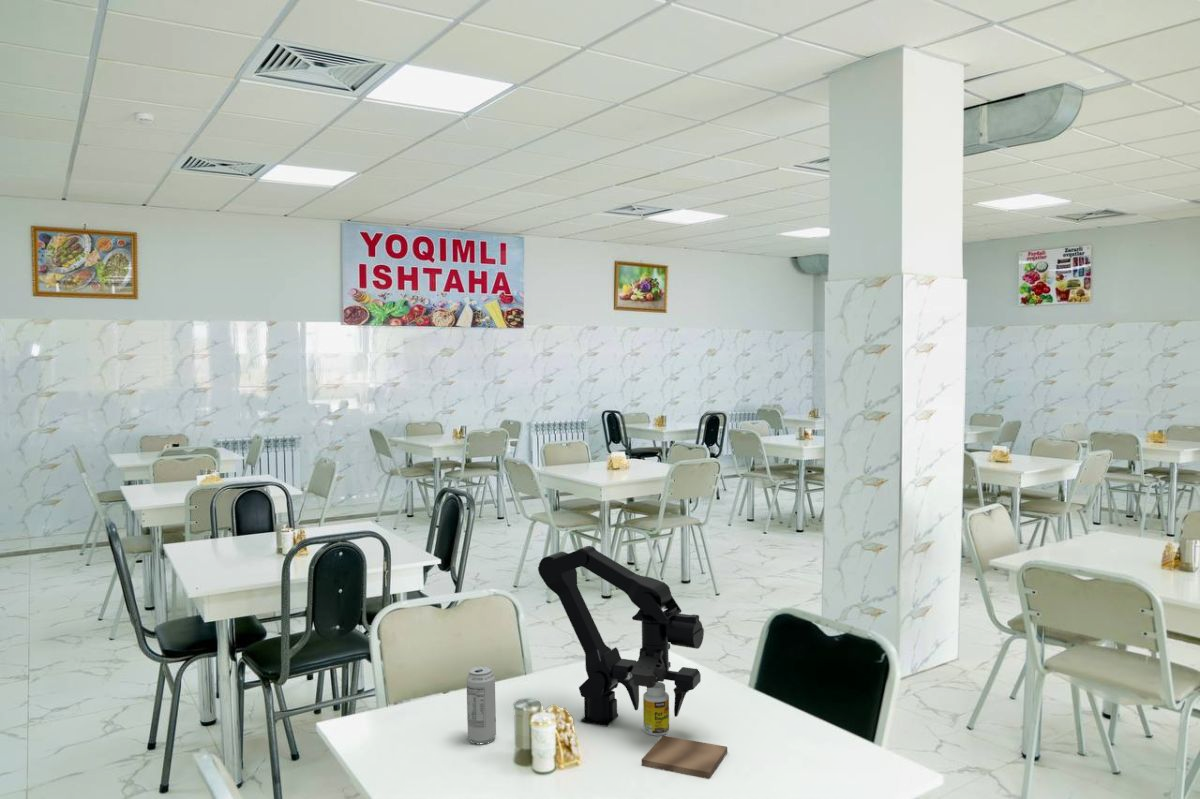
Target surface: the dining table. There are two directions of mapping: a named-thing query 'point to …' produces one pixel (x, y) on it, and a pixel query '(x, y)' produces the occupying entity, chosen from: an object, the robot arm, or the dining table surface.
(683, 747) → the walnut board
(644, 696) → the supplement bottle
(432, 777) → the dining table surface
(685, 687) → the robot arm
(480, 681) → the energy drink can
